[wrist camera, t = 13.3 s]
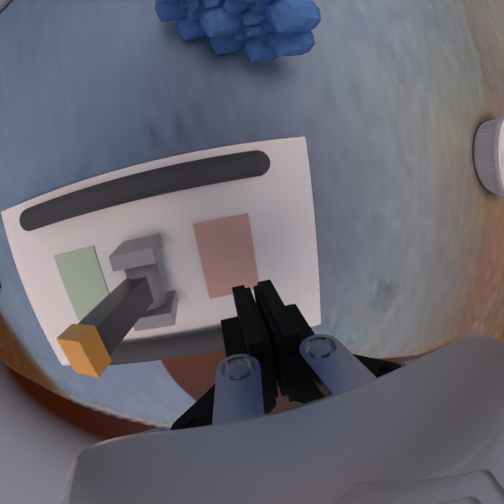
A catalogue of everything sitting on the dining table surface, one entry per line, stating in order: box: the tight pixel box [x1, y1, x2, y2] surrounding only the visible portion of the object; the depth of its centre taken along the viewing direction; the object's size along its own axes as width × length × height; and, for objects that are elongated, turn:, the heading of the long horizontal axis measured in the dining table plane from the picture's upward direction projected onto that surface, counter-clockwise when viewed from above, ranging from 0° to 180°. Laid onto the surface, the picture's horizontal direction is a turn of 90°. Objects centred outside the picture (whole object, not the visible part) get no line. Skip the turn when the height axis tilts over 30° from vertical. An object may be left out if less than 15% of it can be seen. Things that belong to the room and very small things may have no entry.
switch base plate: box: [1, 137, 321, 365], centre depth 20 cm, size 16×26×6 cm, turn 99°
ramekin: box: [473, 116, 504, 198], centre depth 23 cm, size 11×11×5 cm
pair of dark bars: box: [19, 150, 270, 365], centre depth 20 cm, size 15×20×2 cm
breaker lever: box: [56, 262, 168, 378], centre depth 15 cm, size 3×2×10 cm
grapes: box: [155, 0, 321, 61], centre depth 12 cm, size 12×7×12 cm, turn 63°
